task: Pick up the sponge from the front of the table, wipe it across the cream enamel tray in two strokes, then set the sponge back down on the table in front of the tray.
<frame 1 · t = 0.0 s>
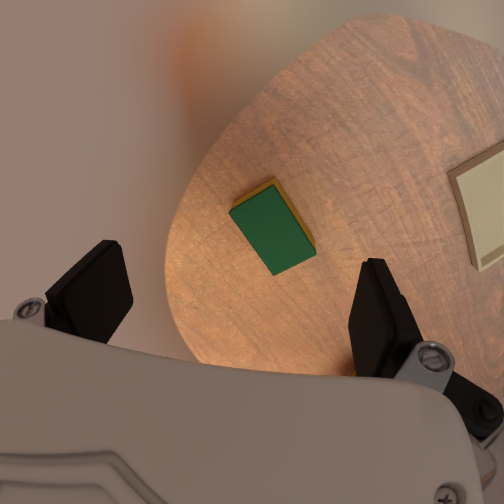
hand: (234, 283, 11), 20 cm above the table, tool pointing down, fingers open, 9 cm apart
sponge: (275, 220, 31), on the table
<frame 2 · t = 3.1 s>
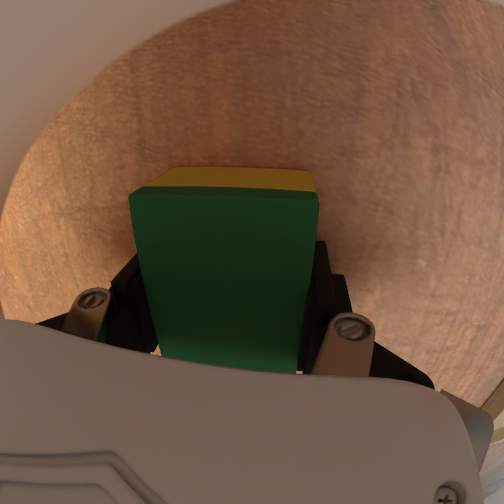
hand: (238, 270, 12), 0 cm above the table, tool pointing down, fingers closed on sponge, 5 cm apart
sponge: (240, 265, 12), on the table, touching gripper
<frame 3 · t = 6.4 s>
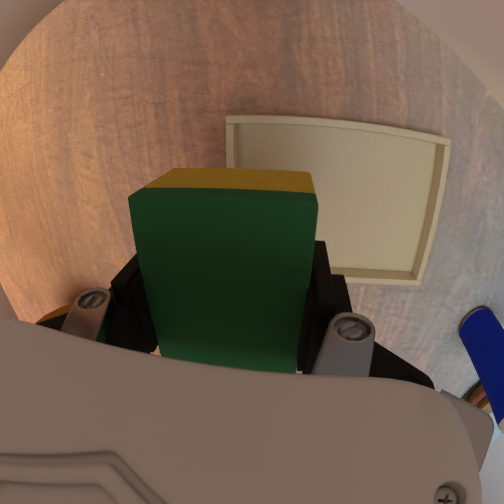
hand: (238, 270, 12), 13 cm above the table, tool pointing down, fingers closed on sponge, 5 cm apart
sponge: (240, 266, 12), point 13 cm above the table, touching gripper
beverage can: (474, 321, 27), on the table
tray: (337, 199, 23), on the table
toy sandwich meal: (490, 388, 33), on the table
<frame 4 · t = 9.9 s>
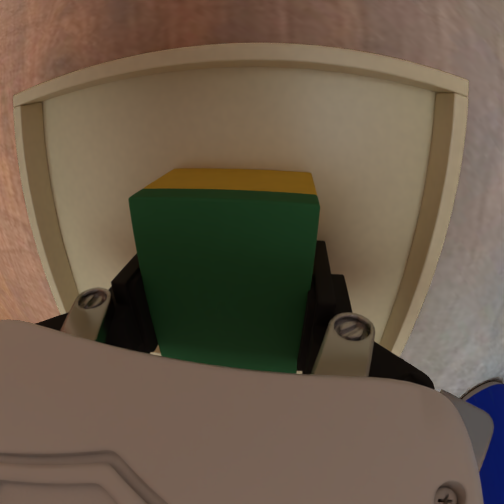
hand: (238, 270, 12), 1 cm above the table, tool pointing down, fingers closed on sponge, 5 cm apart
sponge: (240, 266, 12), point 1 cm above the table, touching gripper
beverage can: (477, 396, 16), on the table
tray: (214, 222, 12), on the table
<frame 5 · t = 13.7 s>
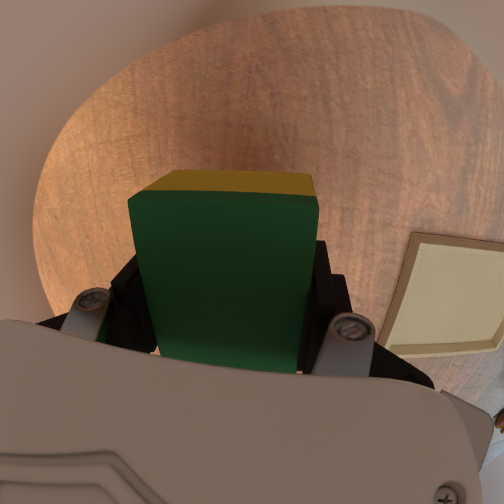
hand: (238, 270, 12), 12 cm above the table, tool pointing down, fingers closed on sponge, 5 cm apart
sponge: (240, 268, 12), point 12 cm above the table, touching gripper
tray: (463, 297, 25), on the table
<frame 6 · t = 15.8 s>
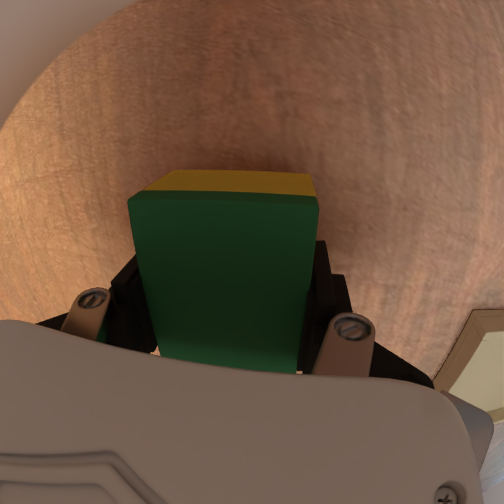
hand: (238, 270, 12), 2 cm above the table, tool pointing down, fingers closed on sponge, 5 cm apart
sponge: (240, 268, 12), point 2 cm above the table, touching gripper
when the fingers open (0 cm above the table, at t = 16.8 s): sponge stays where it is, on the table.
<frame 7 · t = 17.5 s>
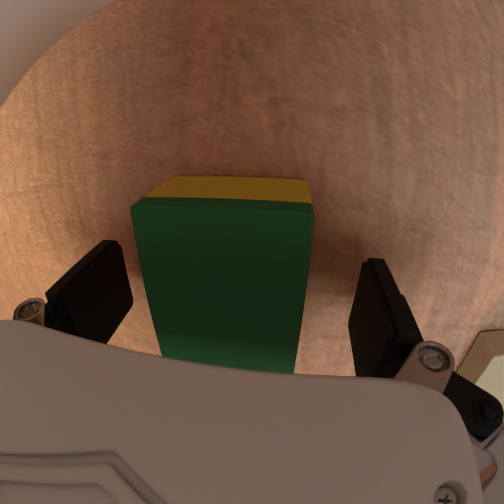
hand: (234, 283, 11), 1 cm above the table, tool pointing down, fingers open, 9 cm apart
sponge: (239, 271, 12), on the table
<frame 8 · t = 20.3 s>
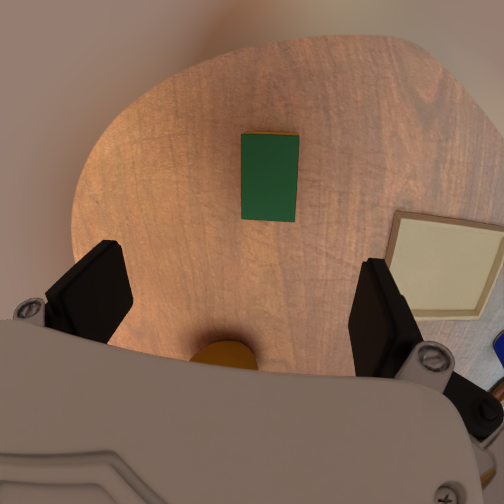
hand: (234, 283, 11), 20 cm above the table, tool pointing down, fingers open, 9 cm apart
apple: (230, 349, 42), on the table
sponge: (271, 171, 29), on the table
beverage can: (502, 337, 35), on the table
tray: (443, 268, 31), on the table
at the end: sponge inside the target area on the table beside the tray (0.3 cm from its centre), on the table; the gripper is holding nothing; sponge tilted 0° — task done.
